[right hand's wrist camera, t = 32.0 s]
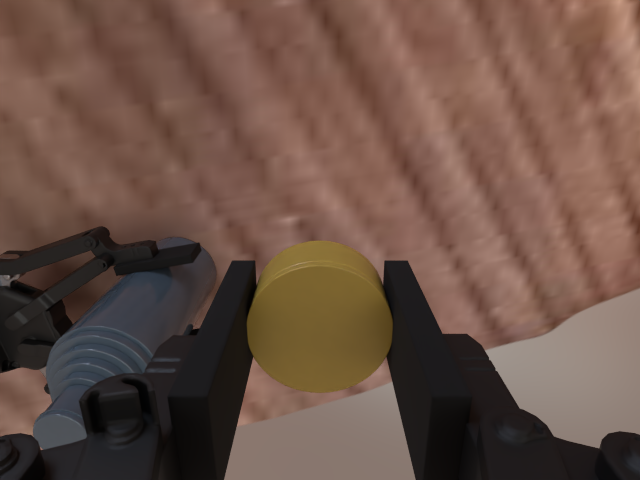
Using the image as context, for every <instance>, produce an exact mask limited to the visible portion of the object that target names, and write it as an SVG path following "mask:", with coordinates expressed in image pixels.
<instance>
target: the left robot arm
mask: <svg viewBox="0 0 640 480" xmlns="http://www.w3.org/2000/svg"><path fill="white" fill-rule="evenodd" d="M109 235H110V233H109V230H108V229H107V228H105V227H102V226H101V227H97V228H94V229H91V230H88V231H85V232H82V233H80V234H77V235H74V236H71V237H68V238H65V239H62V240H59V241H56V242H54V243H51V244H48V245H45V246H42V247H39V248H36V249H33V250H30V251H6V252H5V253H3V254H1V255H0V373H3V372H7V371H10V370H13V369H17V368H21V367H24V368H29V369H33V370H40V371H41V372H42V374H43V375H44V376H45V378H46V365H47V361H48V358H49V354H50V351H51V349H52V347H53V345H54V344H55V343H56V341H57V340H58V339H59V338H60V337H61V336H62V335H63V334H64V333H65V332H66V331H67V330H68V329H69V328H70V327H71V326H72V325H73V324H72V322H71V320H70V319H69V318H68V317H67V315H66V311H65V306H64V304H63V301H62V298H64V297H65V296H67V295H68V294H70V293H72V292H73V291H75V290H76V289H78V288H79V287H81V286H82V285H84V284H85V283H87V282H88V281H90V280H91V279H93V278H94V277H96V276H97V275H99V274H100V273H102V272H103V271H106V270H107V269H108V268H109V267H110V266H113V265H116V266H115V267H114V270H115V273H116V276H119V275H125V274H131V273H136V272H142V271H148V270H154V269H160V268H166V267H172V266H178V265H184V264H190V263H193V262H194V261H195V259H196V258H197V256H198V255H199V254H200V252H201V251H202V250H201V247H200V243H193V244H187V245H181V246H176V247H170V248H164V249H158V247H157V244H156V241H151V240H147V241H143V242H136V243H130V244H125V245H119V244H116V243H115V242H113V241H112V239H111V238H110V237H109ZM90 250H91V251H92V252H93V253H94V255H95V256H96V257H94V258H93V259H91V260H90V261H88V262H87V263H85V264H84V265H82V266H81V267H79V268H78V269H77V270H75V271H74V272H72V273H71V274H69V275H68V276H66V277H65V278H63V279H62V280H60V281H58V282H57V283H55V284H54V285H52V286H51V287H49V288H48V289H46V290H45V291H42V290H39V289H37V288H34V287H31V286H29V285H26V284H24V283H21V282H18V281H17V279H18V278H20V277H21V276H23V275H24V274H25V273H26V272H28V271H31V270H34V269H37V268H40V267H43V266H46V265H49V264H52V263H55V262H58V261H61V260H64V259H66V258H69V257H72V256H75V255H78V254H81V253H84V252H87V251H90ZM199 329H200V328H199ZM199 329H193V330H192V331H191V333H190V335H197V333H198V331H199ZM44 390H45V392H46V393H48V394H50V391H49V387H48V383H47V384H46V385H45V387H44Z"/></svg>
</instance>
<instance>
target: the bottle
mask: <svg viewBox="0 0 640 480" xmlns="http://www.w3.org/2000/svg"><path fill="white" fill-rule="evenodd" d="M193 243H195V242H193V241H191V240H188V239H184V238H176V237H173V238H166V239H162V240H160V241H158V242H156V244H157V247H158V249H164V248H170V247H176V246H181V245H187V244H193ZM200 247H201V246H200ZM201 250H202V251H201V252H200V254H199V255H198V256H197V258H196V259H195V261H194V262H193V263H190V264H184V265H178V266H172V267H166V268H160V269H154V270H148V271H142V272H136V273H131V274H125V275H122V276H121V277H120V278H119V279H118V280H117V281H116V282H115V283H114V284H113V285H112V286H111V287H110V288H109V289H108V290H107V291H106V292H105V293H104V294H103V295H102V296H101V297H100V298H99V299H98V300H97V301H96V302H95V303H94V304H93V305H92V306H91V307H90V308H89V309H88V310H87V311H86V312H85V313H84V314H83V315H82V316H81V317H80V318H79V319H78V320H77V321H76V322H75V323H74V324H73V325H72V326H71V327H70V328H69V329H68V330H67V331H66V332H65V333H64V334H63V335H62V336H61V337H60V338H59V339H58V340H57V341H56V343H55V344H54V345H53V347H52V349H51V351H50V354H49V358H48V361H47V365H46V379H47V383H48V387H49V391H50V396H51V399H52V403H51V405H50V406H49V407H48V408H47V409H46V411H45V412H44V413H42V414H41V415H40V416H39V417H38V418H37V419H36V421H35V423H34V428H33V436H34V438H35V439H36V440H37V441H38V443H39V446H40V447H41V448H42V449H43V450H45V449H49V448H53V447H57V446H61V445H65V444H70V443H73V442H77V441H80V440H83V439H85V438H86V437H87V434H86V430H85V426H84V422H83V417H82V413H81V409H80V405H79V399H80V398H81V397H82V395H83V394H84V392H85V391H86V390H88V389H89V388H90V387H92V386H93V385H94V384H96V383H97V382H99V381H102V380H104V379H106V378H108V377H111V376H115V375H119V374H124V373H138V374H142V373H144V371H145V368H146V367H147V365H148V363H149V362H151V358H152V357H153V355H154V353H155V352H156V350H157V348H158V347H159V346H160V345H161V344H162V343H164V342H165V341H166V340H167V339H169V338H170V337H171V336H173V335H190V333H191V331H192V329H193V327H194V325H195V323H196V321H197V319H198V317H199V315H200V313H201V311H202V309H203V307H204V305H205V303H206V301H207V299H208V297H209V295H210V293H211V292H212V290H213V288H214V285H215V282H216V268H215V264H214V262H213V260H212V258H211V256H210V255H209V254H208V252H207V251H206V250H205V249H204V248H203V247H201Z"/></svg>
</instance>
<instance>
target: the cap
mask: <svg viewBox="0 0 640 480" xmlns="http://www.w3.org/2000/svg"><path fill="white" fill-rule="evenodd" d="M392 331H393V318H392V314H391V310H390V307H389V304H388V301H387V297H386V294H385V291H384V287H383V284H382V281H381V278H380V276H379V274H378V272H377V271H376V269H375V268H374V266H373V265H372V264H371V263H370V262H369V260H368V259H367V258H365V257H364V256H363V255H362V254H361V253H359V252H357V251H356V250H354V249H352V248H350V247H348V246H346V245H343V244H339V243H336V242H330V241H309V242H304V243H300V244H297V245H294V246H292V247H290V248H287V249H285V250H284V251H282V252H281V253H279V254H278V255H277V256H276V257H274V258H273V259H272V260H271V261H270V262H269V263H268V265H267V266H266V267H265V269H264V270H263V272H262V274H261V276H260V278H259V280H258V283H257V286H256V290H255V293H254V296H253V300H252V303H251V306H250V309H249V313H248V316H247V335H248V345H249V348H250V350H251V352H252V355H253V357H254V358H255V360H256V361H257V363H258V364H259V365H260V367H261V368H262V369H263V370H264V371H265V372H266V373H267V374H268V375H269V376H271V377H272V378H274V379H275V380H276V381H278V382H280V383H282V384H284V385H286V386H288V387H291V388H293V389H297V390H301V391H306V392H314V393H325V392H334V391H339V390H343V389H346V388H349V387H351V386H354V385H356V384H358V383H360V382H362V381H363V380H365V379H366V378H368V377H369V376H370V375H371V374H372V373H374V372H375V371H376V370H377V369H378V367H379V366H380V365H381V364H382V362H383V361H384V359H385V358H386V356H387V354H388V352H389V350H390V347H391V343H392Z"/></svg>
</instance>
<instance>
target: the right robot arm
mask: <svg viewBox="0 0 640 480" xmlns="http://www.w3.org/2000/svg"><path fill="white" fill-rule="evenodd" d="M383 287H384V291H385V294H386V297H387V301H388V304H389V307H390V310H391V314H392V318H393V331H392V343H391V347H390V350H389V352H388V354H387V361H388V365H389V369H390V373H391V377H392V382H393V386H394V390H395V394H396V398H397V403H398V407H399V411H400V415H401V419H402V424H403V428H404V432H405V436H406V440H407V445H408V449H409V453H410V457H411V461H412V466H413V470H414V474H415V478H416V480H640V435H638V434H635V433H629V432H620V431H619V432H614V433H609V434H607V435H606V436H605V437H604V438H603V439H602V441H601V445H600V448H595V447H590V446H586V445H582V444H578V443H573V442H569V441H566V440H563V439H559V438H556V437H554V436H553V435H552V433H551V431H550V430H549V428H548V426H547V425H546V424H545V423H543V422H542V421H541V420H540V419H539V418H538V417H536V416H535V415H533V414H531V413H529V412H527V411H525V410H522V409H520V408H519V407H518V405H517V403H516V402H515V400H514V398H513V397H512V395H511V394H510V392H509V390H508V389H507V387H506V385H505V384H504V382H503V380H502V379H501V377H500V375H499V374H498V372H497V371H496V370H495V367H494V365H493V364H492V362H491V361H490V360H489V357H488V355H487V354H486V352H485V350H484V349H483V347H482V345H481V344H479V343H478V342H477V341H475V340H474V339H473V338H472V337H470V336H469V335H468V334H442V332H441V330H440V328H439V326H438V324H437V321H436V319H435V317H434V315H433V313H432V311H431V309H430V307H429V305H428V303H427V300H426V298H425V296H424V294H423V292H422V290H421V288H420V286H419V284H418V282H417V280H416V277H415V275H414V273H413V271H412V269H411V267H410V265H409V263H408V261H385V263H384V280H383ZM255 290H256V268H255V261H232V262H231V264H230V266H229V268H228V271H227V273H226V275H225V277H224V279H223V281H222V283H221V285H220V287H219V289H218V291H217V294H216V296H215V298H214V300H213V302H212V304H211V306H210V308H209V310H208V312H207V314H206V317H205V319H204V321H203V323H202V325H201V327H200V329H199V331H198V333H197V335H173V336H171V337H170V338H169V339H167V340H166V341H165V342H164V343H162V344H161V345H160V346H159V347H158V348H157V350H156V352H155V353H154V355H153V357H152V358H151V362H149V363H148V365H147V367H146V368H145V371H144V373H142V374H138V373H124V374H119V375H115V376H111V377H108V378H106V379H104V380H102V381H99V382H97V383H96V384H94V385H93V386H92V387H90V388H89V389H88V390H86V391H85V392H84V394H83V395H82V397H81V398H80V399H79V405H80V409H81V413H82V417H83V422H84V426H85V430H86V434H87V437H86V438H85V439H83V440H80V441H77V442H73V443H70V444H65V445H61V446H57V447H53V448H49V449H45V450H41V449H40V446H39V443H38V441H37V440H36V439H35V438H34V437H33V436H32V435H27V434H22V433H19V434H10V435H4V436H1V437H0V480H224V477H225V473H226V469H227V464H228V460H229V456H230V452H231V448H232V443H233V439H234V435H235V431H236V427H237V422H238V418H239V414H240V410H241V406H242V401H243V397H244V393H245V389H246V385H247V381H248V376H249V372H250V368H251V364H252V360H253V355H252V352H251V350H250V348H249V345H248V335H247V316H248V313H249V309H250V306H251V303H252V300H253V296H254V293H255Z"/></svg>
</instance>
